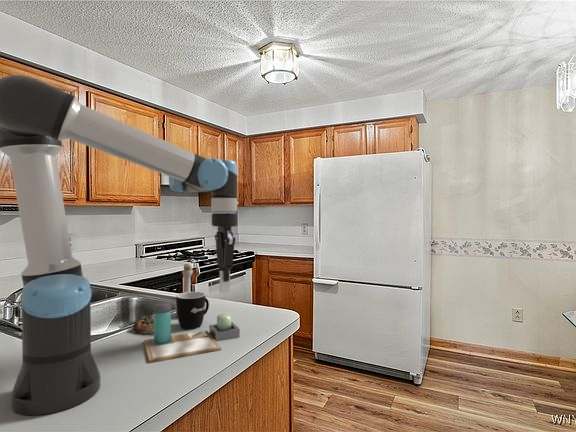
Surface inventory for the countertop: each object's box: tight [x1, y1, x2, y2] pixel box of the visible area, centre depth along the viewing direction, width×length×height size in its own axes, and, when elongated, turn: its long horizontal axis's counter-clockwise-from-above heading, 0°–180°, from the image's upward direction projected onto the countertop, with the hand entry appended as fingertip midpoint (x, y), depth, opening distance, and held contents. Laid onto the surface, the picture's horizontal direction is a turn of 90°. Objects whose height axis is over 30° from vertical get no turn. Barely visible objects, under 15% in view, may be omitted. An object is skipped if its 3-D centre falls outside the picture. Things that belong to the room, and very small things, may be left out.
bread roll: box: [132, 313, 154, 335], centre depth 112 cm, size 11×11×5 cm
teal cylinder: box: [153, 302, 172, 344], centre depth 99 cm, size 4×4×10 cm
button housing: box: [208, 321, 241, 342], centre depth 106 cm, size 7×7×2 cm
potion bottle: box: [174, 263, 194, 314], centre depth 126 cm, size 9×9×18 cm
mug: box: [175, 291, 210, 330], centre depth 115 cm, size 12×9×10 cm
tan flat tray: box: [143, 329, 222, 364], centre depth 98 cm, size 18×15×1 cm
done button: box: [216, 313, 232, 331], centre depth 106 cm, size 4×4×4 cm
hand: (224, 291), depth 106 cm, fingers closed
